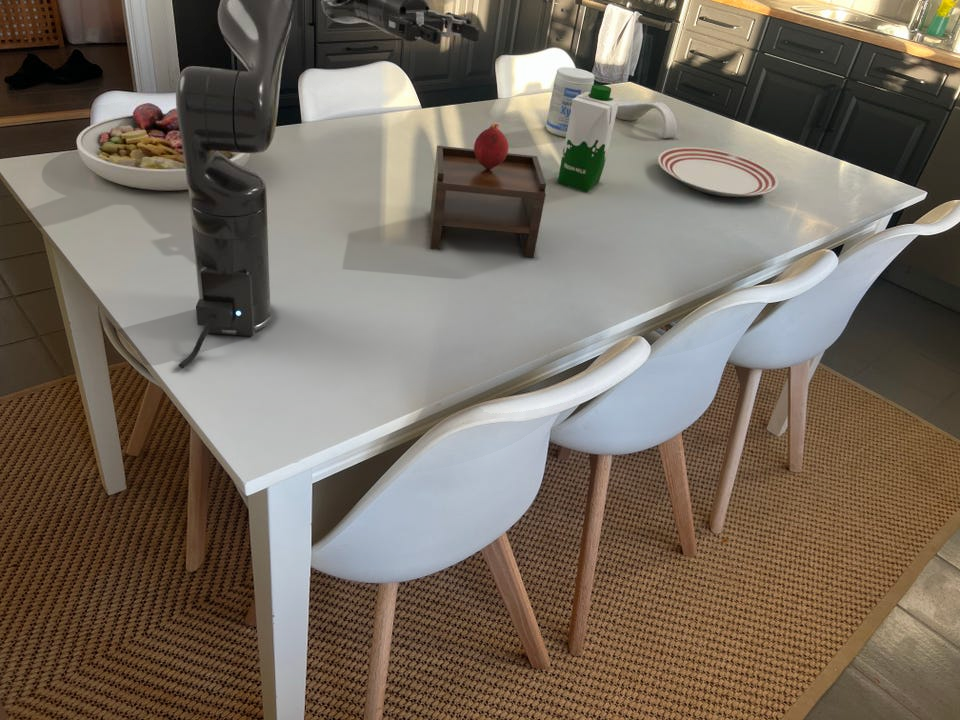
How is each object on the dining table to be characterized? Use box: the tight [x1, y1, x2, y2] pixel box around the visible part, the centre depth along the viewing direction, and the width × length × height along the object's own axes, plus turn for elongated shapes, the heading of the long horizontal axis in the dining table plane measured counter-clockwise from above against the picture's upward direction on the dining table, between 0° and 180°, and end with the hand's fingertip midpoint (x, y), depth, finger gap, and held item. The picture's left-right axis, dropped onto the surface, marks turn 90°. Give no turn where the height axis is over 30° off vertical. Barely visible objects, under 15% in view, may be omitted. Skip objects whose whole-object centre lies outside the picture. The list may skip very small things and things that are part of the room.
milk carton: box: [557, 84, 619, 193], centre depth 157 cm, size 9×9×20 cm
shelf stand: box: [429, 145, 547, 259], centre depth 132 cm, size 14×18×13 cm
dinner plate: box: [657, 146, 779, 198], centre depth 174 cm, size 27×27×3 cm
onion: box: [473, 122, 509, 170], centre depth 128 cm, size 6×6×8 cm
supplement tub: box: [545, 66, 595, 138], centre depth 187 cm, size 10×10×15 cm
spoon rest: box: [612, 97, 678, 139], centre depth 203 cm, size 24×12×7 cm, turn 34°
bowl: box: [76, 102, 252, 191], centre depth 141 cm, size 30×30×8 cm
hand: (458, 36), depth 125 cm, fingers open, 8 cm apart
